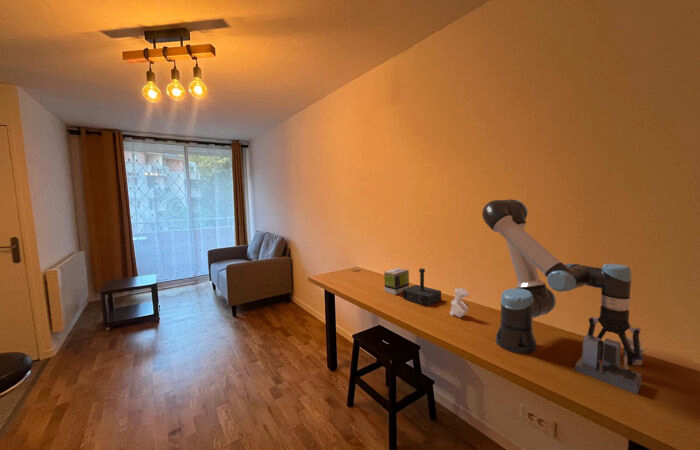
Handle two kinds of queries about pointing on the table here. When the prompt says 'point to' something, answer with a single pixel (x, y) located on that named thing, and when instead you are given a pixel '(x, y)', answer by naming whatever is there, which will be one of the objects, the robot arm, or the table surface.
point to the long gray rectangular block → (611, 352)
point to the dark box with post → (422, 293)
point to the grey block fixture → (605, 367)
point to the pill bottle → (635, 360)
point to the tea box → (396, 280)
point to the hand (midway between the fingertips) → (611, 367)
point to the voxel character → (459, 303)
